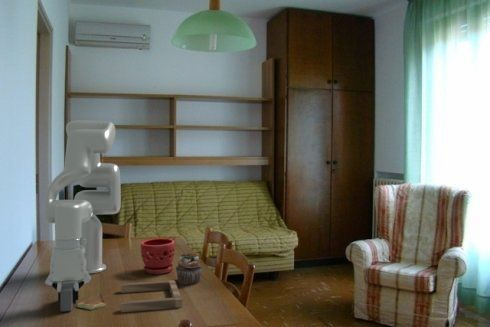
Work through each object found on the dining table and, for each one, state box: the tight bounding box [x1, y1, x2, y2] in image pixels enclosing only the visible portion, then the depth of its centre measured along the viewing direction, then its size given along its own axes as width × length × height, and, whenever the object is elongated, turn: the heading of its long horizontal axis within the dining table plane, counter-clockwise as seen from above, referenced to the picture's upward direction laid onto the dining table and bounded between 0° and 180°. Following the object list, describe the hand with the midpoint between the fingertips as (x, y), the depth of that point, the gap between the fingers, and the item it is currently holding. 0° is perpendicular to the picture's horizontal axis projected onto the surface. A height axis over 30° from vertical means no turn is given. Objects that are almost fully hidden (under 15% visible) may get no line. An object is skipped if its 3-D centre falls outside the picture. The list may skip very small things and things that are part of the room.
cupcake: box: [175, 253, 203, 285], centre depth 161 cm, size 10×10×10 cm
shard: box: [76, 293, 106, 311], centre depth 138 cm, size 11×8×2 cm
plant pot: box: [140, 237, 176, 275], centre depth 174 cm, size 13×13×12 cm
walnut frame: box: [120, 279, 183, 313], centre depth 142 cm, size 20×18×2 cm
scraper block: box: [59, 281, 74, 312], centre depth 135 cm, size 12×3×6 cm, turn 15°
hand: (68, 302), depth 135 cm, fingers closed on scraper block, 3 cm apart
